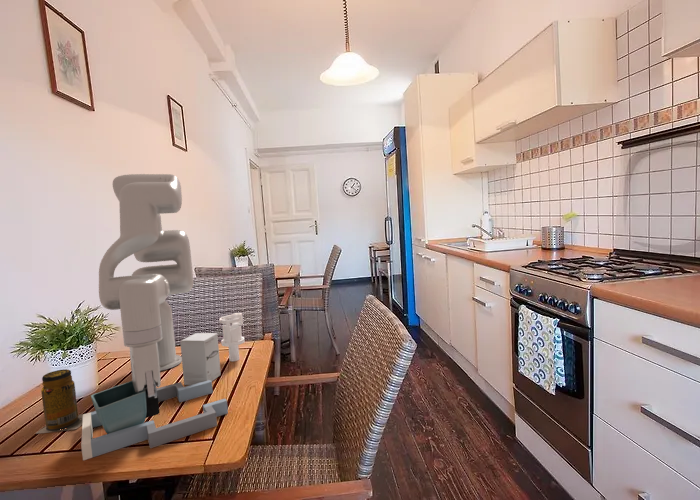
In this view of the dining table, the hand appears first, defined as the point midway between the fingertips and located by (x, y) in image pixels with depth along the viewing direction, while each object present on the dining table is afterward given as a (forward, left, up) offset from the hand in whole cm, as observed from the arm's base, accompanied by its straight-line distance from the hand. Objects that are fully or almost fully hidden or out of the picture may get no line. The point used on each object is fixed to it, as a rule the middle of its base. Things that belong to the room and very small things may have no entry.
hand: (151, 414), depth 86 cm
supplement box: (-17, +15, -2) cm, 22 cm away
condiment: (-13, -16, -2) cm, 21 cm away
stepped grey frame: (0, +1, -2) cm, 2 cm away
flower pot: (+1, -5, -2) cm, 6 cm away
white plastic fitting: (-27, +27, -2) cm, 38 cm away
